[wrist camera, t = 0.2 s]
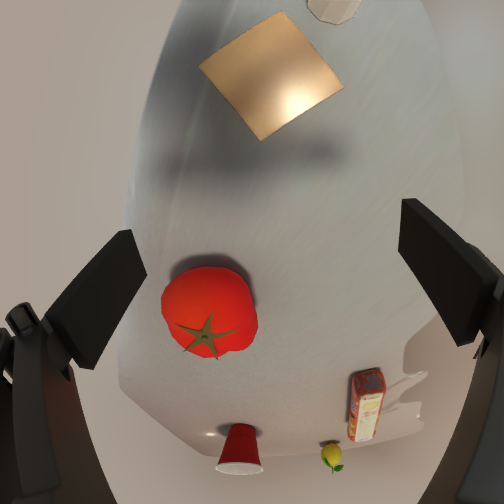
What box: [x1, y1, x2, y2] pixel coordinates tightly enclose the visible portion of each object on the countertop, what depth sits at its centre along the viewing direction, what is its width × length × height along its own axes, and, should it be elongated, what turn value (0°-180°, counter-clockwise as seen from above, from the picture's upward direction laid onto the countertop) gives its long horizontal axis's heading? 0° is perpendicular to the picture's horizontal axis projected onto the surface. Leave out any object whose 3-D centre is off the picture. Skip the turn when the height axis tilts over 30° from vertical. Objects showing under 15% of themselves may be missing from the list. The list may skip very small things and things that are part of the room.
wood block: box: [198, 11, 344, 141], centre depth 23 cm, size 9×9×6 cm
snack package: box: [347, 369, 386, 442], centre depth 48 cm, size 21×7×7 cm, turn 12°
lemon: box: [321, 442, 343, 473], centre depth 59 cm, size 7×6×10 cm
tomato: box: [161, 267, 258, 360], centre depth 34 cm, size 11×13×10 cm
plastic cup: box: [215, 424, 264, 475], centre depth 54 cm, size 11×11×12 cm
